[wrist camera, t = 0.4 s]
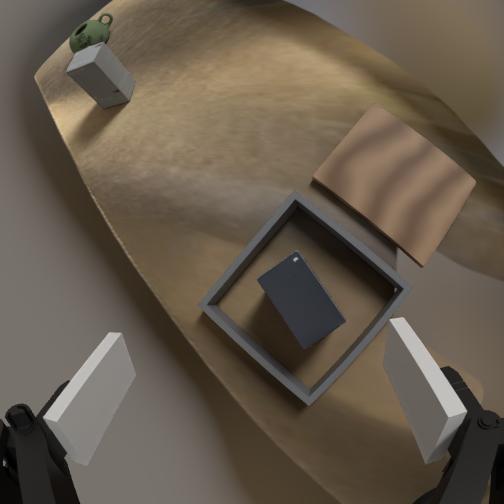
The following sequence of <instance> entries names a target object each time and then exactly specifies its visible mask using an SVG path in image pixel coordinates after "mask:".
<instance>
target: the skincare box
mask: <svg viewBox="0 0 504 504" xmlns="http://www.w3.org/2000/svg"><path fill="white" fill-rule="evenodd" d="M66 73H67V74H68V75H69V76H70V77H71V78H72V79H73V80H74V81H75V82H76V83H77V84H78V85H79V86H80V87H81V88H82V89H83V90H85V91H86V92H87V93H88V94H89V95H90V96H91V97H92V98H93V99H94V100H95V101H96V102H97V103H98V104H99V105H100V106H101V107H102V108H107V107H110V106H114V105H118V104H122V103H125V102H128V101H130V98H131V95H132V92H133V89H134V86H135V82H136V81H135V80H134V79H133V78H132V76H131V75H130V74H129V73H128V71H127V70H126V69H125V68H124V67H123V65H122V64H121V63H120V62H119V60H118V59H117V58H116V57H115V56H114V54H113V53H112V52H111V51H110V49H109V48H108V47H107V46H106V44H105V43H104V42H101V43H98V44H96V45H93V46H88V47H87V48H85V49H83V50H81V51H79V52H76V53H75V55H74V57H73V59H72V61H71V63H70V64H69V66H68V68H67V71H66Z"/></svg>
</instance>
